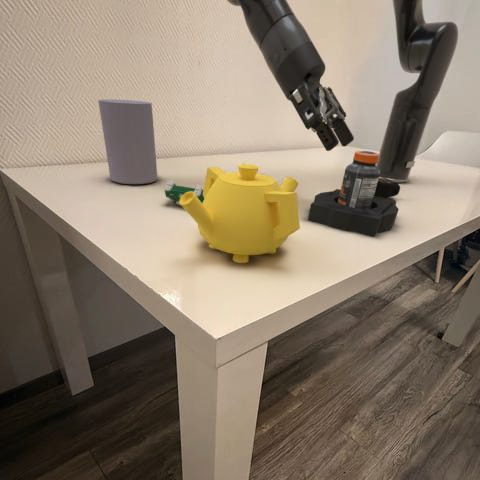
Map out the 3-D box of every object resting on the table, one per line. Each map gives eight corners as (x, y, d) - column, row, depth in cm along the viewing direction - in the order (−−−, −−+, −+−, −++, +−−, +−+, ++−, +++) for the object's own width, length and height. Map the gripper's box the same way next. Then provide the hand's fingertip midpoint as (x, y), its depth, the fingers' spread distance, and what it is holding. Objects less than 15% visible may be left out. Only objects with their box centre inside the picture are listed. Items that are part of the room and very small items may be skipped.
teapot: (251, 218, 59) (257, 149, 53) (333, 254, 49) (353, 172, 42) (149, 242, 48) (141, 157, 41) (228, 295, 37) (233, 192, 31)
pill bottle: (333, 211, 65) (347, 147, 59) (363, 214, 65) (381, 150, 58) (336, 221, 61) (352, 153, 54) (369, 225, 60) (389, 156, 54)
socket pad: (327, 201, 71) (330, 187, 69) (399, 217, 65) (405, 202, 63) (299, 219, 60) (302, 202, 59) (382, 239, 54) (388, 221, 53)
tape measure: (398, 200, 75) (403, 183, 73) (373, 201, 74) (378, 183, 71) (379, 192, 81) (384, 175, 79) (355, 192, 79) (359, 176, 77)
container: (101, 182, 72) (87, 100, 64) (124, 172, 81) (115, 99, 72) (145, 187, 71) (137, 104, 62) (164, 177, 79) (159, 102, 71)
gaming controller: (170, 209, 66) (156, 192, 60) (176, 192, 66) (163, 174, 60) (212, 217, 64) (203, 200, 58) (218, 199, 64) (209, 181, 58)
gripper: (291, 32, 48) (348, 132, 50) (325, 44, 58) (371, 127, 60) (256, 75, 53) (309, 164, 55) (293, 80, 63) (336, 155, 65)
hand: (341, 145), depth 58 cm, fingers open, 8 cm apart
